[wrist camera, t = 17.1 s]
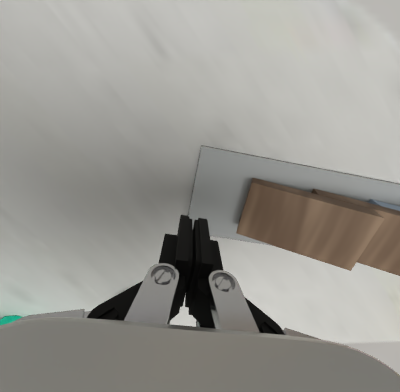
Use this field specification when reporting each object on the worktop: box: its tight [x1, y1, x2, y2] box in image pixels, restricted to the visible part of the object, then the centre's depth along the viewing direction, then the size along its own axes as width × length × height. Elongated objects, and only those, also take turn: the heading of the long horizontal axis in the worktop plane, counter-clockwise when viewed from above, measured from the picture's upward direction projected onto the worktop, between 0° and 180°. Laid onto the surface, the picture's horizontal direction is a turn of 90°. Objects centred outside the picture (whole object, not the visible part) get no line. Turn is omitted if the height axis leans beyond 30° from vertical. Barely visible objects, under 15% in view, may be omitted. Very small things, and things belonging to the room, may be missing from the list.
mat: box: [188, 146, 400, 246], centre depth 20 cm, size 32×9×1 cm, turn 79°
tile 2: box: [312, 188, 400, 276], centre depth 18 cm, size 2×5×10 cm
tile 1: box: [236, 178, 385, 271], centre depth 17 cm, size 2×5×10 cm
